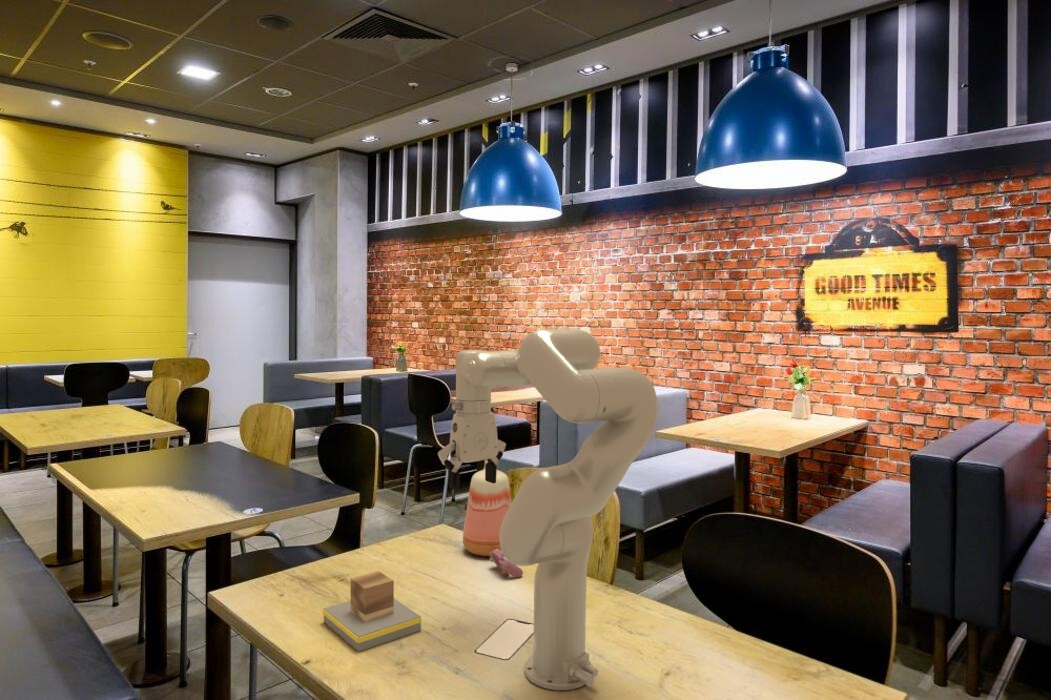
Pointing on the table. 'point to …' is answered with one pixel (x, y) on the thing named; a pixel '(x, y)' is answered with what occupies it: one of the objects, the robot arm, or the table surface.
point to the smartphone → (506, 639)
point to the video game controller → (505, 564)
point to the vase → (485, 513)
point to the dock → (371, 625)
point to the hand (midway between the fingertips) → (472, 485)
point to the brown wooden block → (372, 596)
